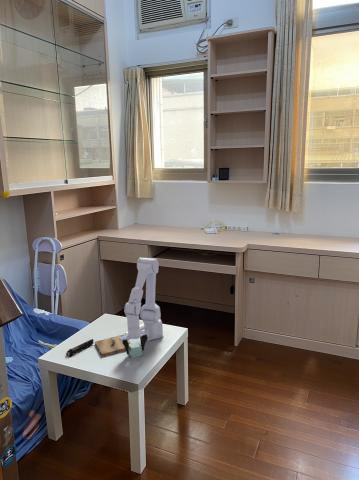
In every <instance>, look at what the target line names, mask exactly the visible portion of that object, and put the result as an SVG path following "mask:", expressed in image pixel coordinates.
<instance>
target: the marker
mask: <svg viewBox="0 0 359 480" xmlns="http://www.w3.org/2000/svg"><path fill="white" fill-rule="evenodd" d="M139 325H140V331H142V329H144V323H142V324H139ZM126 334H128V331H126V332H124V335H126Z"/></svg>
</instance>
